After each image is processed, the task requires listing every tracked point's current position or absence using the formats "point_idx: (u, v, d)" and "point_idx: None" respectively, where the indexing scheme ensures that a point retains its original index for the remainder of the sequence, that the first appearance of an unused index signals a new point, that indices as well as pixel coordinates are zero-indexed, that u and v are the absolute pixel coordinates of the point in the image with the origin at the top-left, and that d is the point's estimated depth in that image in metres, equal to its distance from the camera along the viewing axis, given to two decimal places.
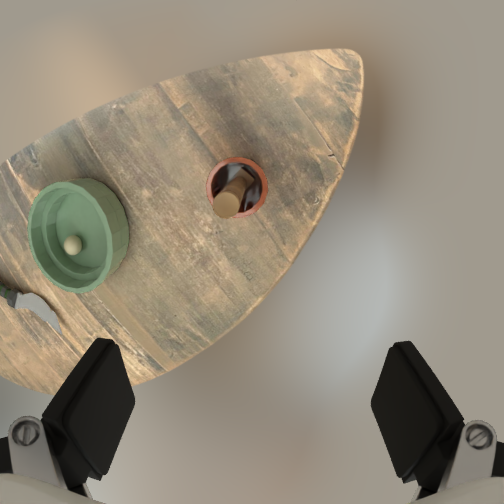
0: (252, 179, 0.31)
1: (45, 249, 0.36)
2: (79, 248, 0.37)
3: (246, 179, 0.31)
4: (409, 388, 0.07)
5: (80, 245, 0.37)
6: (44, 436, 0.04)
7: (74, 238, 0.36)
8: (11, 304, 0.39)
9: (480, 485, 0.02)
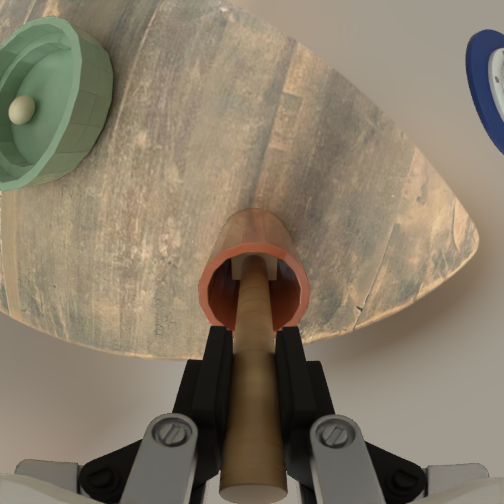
0: (273, 277, 0.19)
1: None
2: (22, 121, 0.18)
3: (267, 270, 0.19)
4: (280, 370, 0.08)
5: (26, 118, 0.19)
6: (193, 444, 0.05)
7: (28, 104, 0.18)
8: None
9: (480, 485, 0.02)
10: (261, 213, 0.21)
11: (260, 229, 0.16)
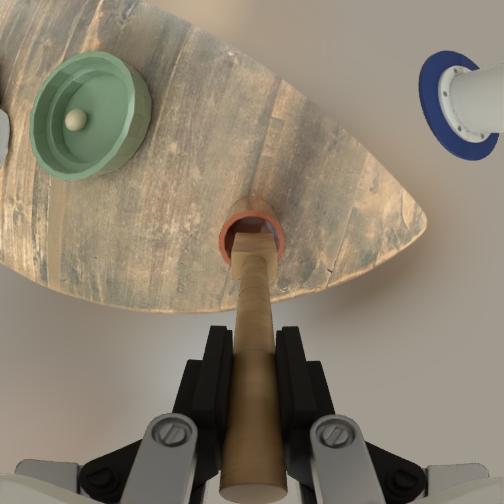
0: (273, 277, 0.19)
1: (52, 98, 0.26)
2: (77, 129, 0.29)
3: (267, 270, 0.19)
4: (280, 370, 0.08)
5: (81, 127, 0.29)
6: (193, 444, 0.05)
7: (83, 116, 0.28)
8: None
9: (480, 485, 0.02)
10: (256, 199, 0.32)
11: (255, 205, 0.27)
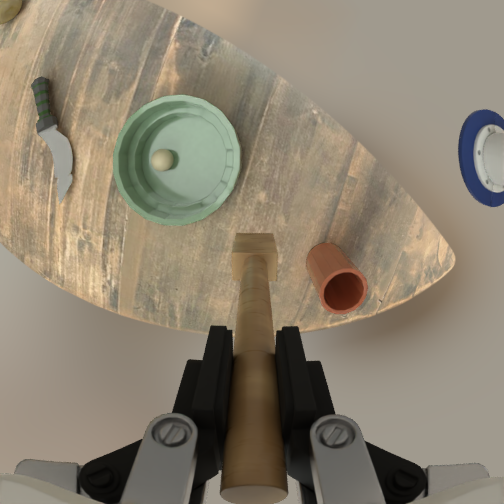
0: (274, 278, 0.19)
1: (134, 134, 0.33)
2: (165, 170, 0.35)
3: (267, 271, 0.19)
4: (280, 370, 0.08)
5: (168, 168, 0.35)
6: (193, 444, 0.05)
7: (171, 158, 0.34)
8: (39, 128, 0.31)
9: (480, 485, 0.02)
10: (334, 247, 0.38)
11: (344, 260, 0.33)
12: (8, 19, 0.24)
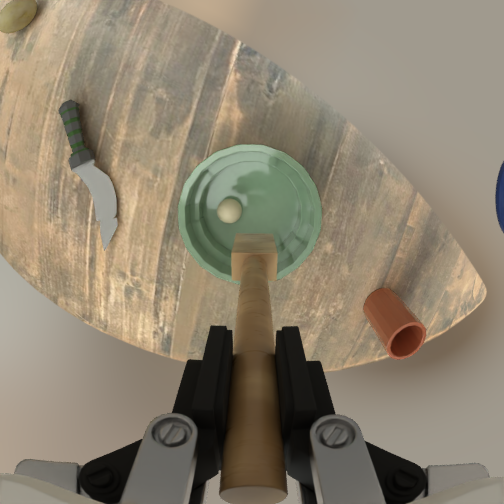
0: (273, 278, 0.19)
1: (197, 181, 0.32)
2: (233, 222, 0.35)
3: (267, 271, 0.19)
4: (280, 371, 0.08)
5: (236, 220, 0.35)
6: (193, 444, 0.05)
7: (241, 210, 0.34)
8: (74, 164, 0.31)
9: (480, 485, 0.02)
10: (393, 294, 0.38)
11: (406, 311, 0.33)
12: (21, 27, 0.24)
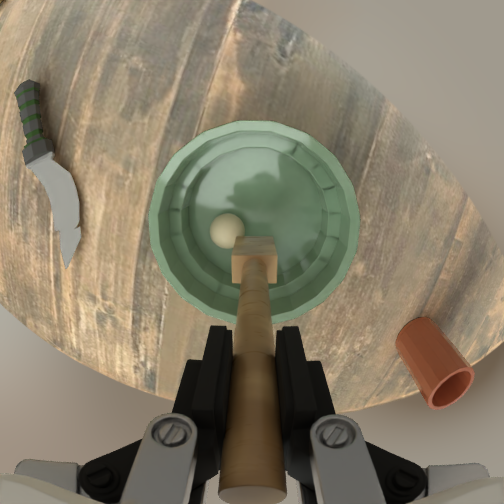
0: (274, 280, 0.19)
1: (179, 177, 0.22)
2: None
3: (267, 274, 0.19)
4: (280, 370, 0.08)
5: None
6: (193, 444, 0.05)
7: None
8: (27, 158, 0.21)
9: (480, 485, 0.02)
10: (434, 326, 0.27)
11: (453, 352, 0.22)
12: None
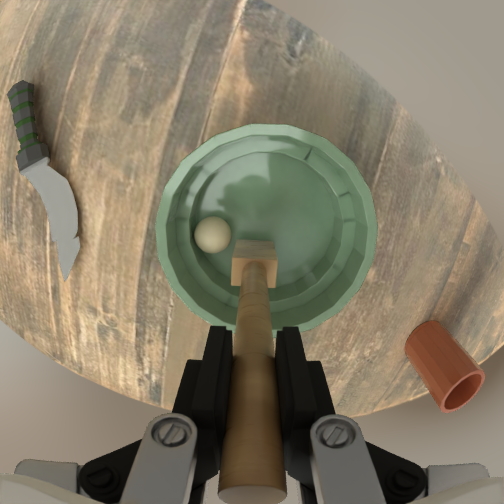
0: (272, 285, 0.19)
1: (186, 184, 0.21)
2: None
3: (267, 278, 0.19)
4: (280, 370, 0.08)
5: None
6: (193, 444, 0.05)
7: (210, 250, 0.23)
8: (21, 164, 0.20)
9: (480, 485, 0.02)
10: (443, 330, 0.26)
11: (464, 355, 0.22)
12: None
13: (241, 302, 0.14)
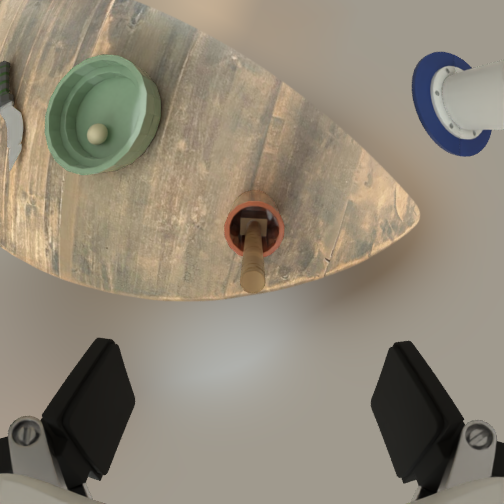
0: (264, 234, 0.33)
1: (66, 98, 0.29)
2: None
3: (261, 230, 0.33)
4: (409, 388, 0.07)
5: None
6: (44, 436, 0.04)
7: None
8: None
9: (480, 485, 0.02)
10: (258, 192, 0.35)
11: (257, 197, 0.30)
12: None
13: (246, 235, 0.27)
